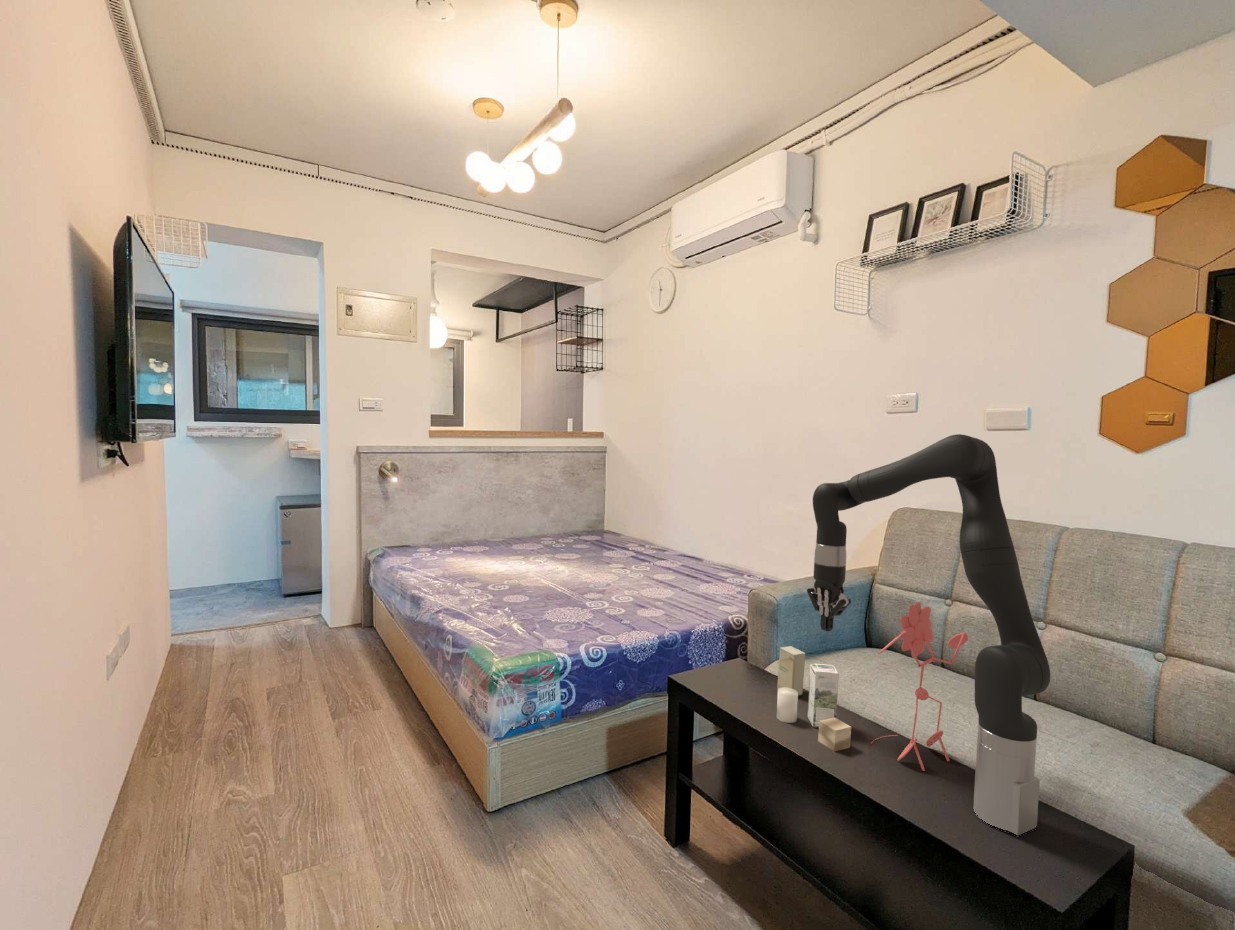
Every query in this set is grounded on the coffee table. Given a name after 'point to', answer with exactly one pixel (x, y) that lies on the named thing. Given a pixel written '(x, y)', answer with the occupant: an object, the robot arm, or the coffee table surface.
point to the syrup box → (822, 693)
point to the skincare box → (791, 669)
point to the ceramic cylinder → (787, 705)
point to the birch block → (834, 734)
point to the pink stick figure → (914, 639)
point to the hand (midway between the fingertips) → (826, 630)
